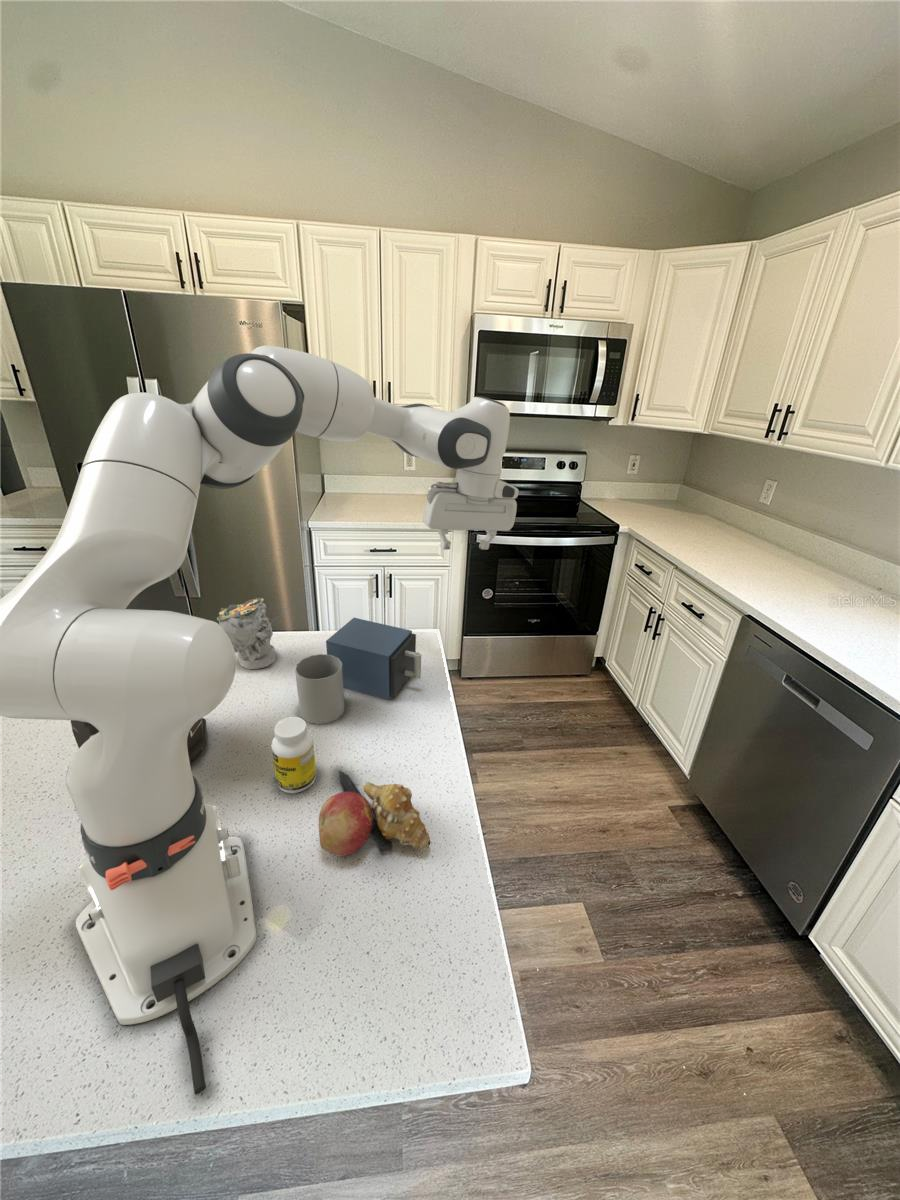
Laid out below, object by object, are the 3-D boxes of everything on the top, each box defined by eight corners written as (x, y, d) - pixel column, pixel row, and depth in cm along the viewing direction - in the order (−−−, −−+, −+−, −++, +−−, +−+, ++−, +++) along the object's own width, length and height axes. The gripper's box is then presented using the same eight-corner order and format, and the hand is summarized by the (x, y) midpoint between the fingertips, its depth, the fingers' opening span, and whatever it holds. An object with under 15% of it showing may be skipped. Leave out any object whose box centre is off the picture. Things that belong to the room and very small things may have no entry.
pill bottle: (268, 785, 77) (259, 731, 73) (296, 760, 82) (289, 708, 78) (297, 801, 75) (290, 746, 70) (324, 774, 80) (320, 721, 75)
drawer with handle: (429, 673, 106) (431, 637, 102) (409, 701, 97) (410, 663, 93) (360, 656, 111) (359, 621, 107) (335, 681, 102) (332, 643, 98)
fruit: (336, 772, 68) (345, 820, 62) (377, 787, 73) (389, 833, 66) (302, 808, 70) (307, 859, 63) (344, 821, 74) (353, 870, 67)
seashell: (379, 839, 74) (441, 837, 72) (354, 859, 67) (422, 858, 64) (374, 776, 76) (434, 772, 73) (349, 788, 68) (415, 784, 66)
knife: (399, 843, 68) (380, 852, 66) (398, 848, 68) (379, 856, 67) (346, 765, 81) (329, 770, 80) (346, 769, 82) (329, 774, 80)
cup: (349, 698, 98) (347, 656, 94) (337, 725, 91) (334, 681, 86) (308, 694, 99) (304, 652, 94) (293, 721, 91) (287, 676, 87)
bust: (291, 662, 106) (267, 601, 101) (241, 683, 102) (214, 620, 96) (282, 648, 115) (259, 591, 110) (236, 666, 111) (211, 608, 106)
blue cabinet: (411, 672, 108) (412, 630, 103) (389, 700, 98) (388, 656, 94) (355, 657, 112) (353, 617, 107) (329, 683, 102) (325, 640, 98)
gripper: (436, 485, 91) (426, 554, 97) (525, 491, 101) (511, 553, 106) (423, 477, 96) (414, 543, 102) (509, 483, 106) (496, 543, 111)
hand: (464, 548), depth 104 cm, fingers open, 8 cm apart
